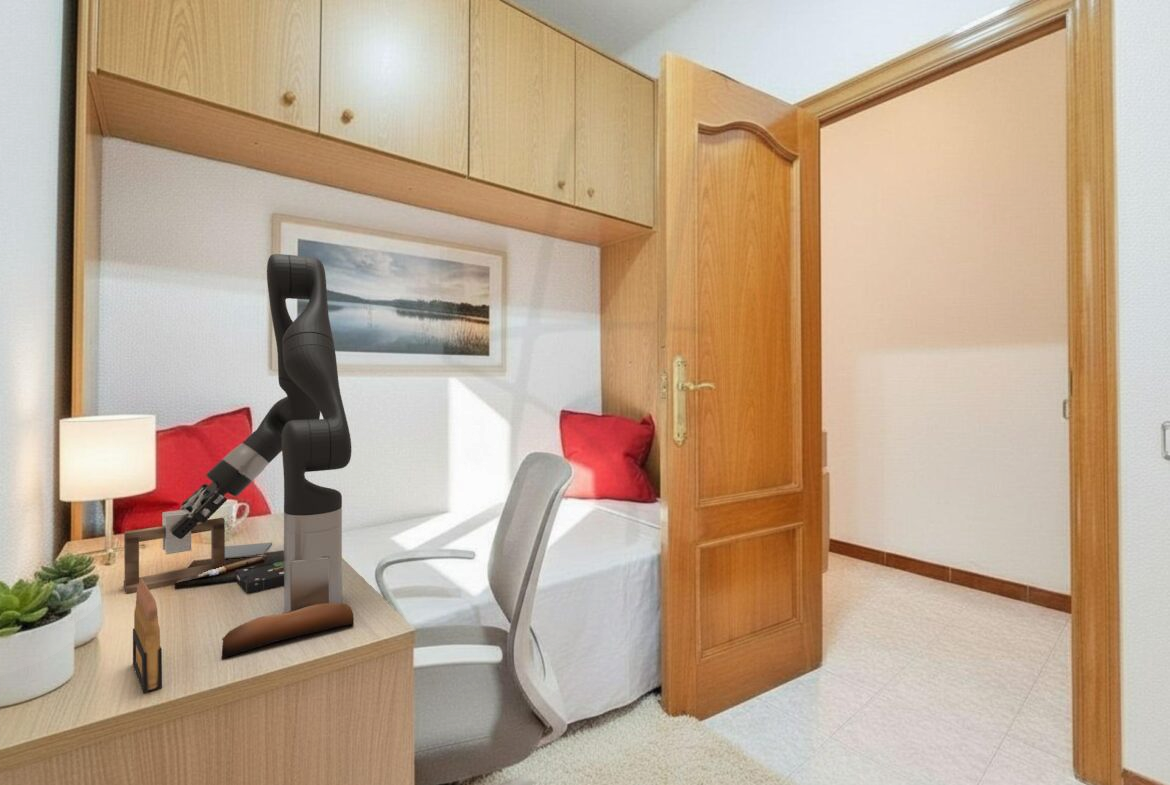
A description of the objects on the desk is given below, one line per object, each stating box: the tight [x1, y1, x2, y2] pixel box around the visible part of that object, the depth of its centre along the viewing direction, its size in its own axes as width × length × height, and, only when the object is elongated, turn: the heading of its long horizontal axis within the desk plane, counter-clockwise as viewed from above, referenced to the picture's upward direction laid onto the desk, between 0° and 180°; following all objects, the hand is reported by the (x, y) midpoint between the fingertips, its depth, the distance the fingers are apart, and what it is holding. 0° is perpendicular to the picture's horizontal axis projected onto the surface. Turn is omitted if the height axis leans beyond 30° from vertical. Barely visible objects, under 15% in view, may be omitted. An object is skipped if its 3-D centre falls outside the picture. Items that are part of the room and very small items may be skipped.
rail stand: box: [123, 517, 226, 595], centre depth 108 cm, size 16×6×11 cm, turn 135°
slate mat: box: [225, 542, 273, 559], centre depth 126 cm, size 10×10×1 cm
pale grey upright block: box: [161, 509, 192, 556], centre depth 108 cm, size 4×5×8 cm
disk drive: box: [235, 560, 284, 595], centre depth 109 cm, size 10×3×15 cm
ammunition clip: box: [132, 579, 163, 694], centre depth 72 cm, size 11×2×12 cm, turn 46°
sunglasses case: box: [221, 603, 355, 659], centre depth 84 cm, size 18×7×7 cm
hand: (172, 532), depth 108 cm, fingers open, 8 cm apart
